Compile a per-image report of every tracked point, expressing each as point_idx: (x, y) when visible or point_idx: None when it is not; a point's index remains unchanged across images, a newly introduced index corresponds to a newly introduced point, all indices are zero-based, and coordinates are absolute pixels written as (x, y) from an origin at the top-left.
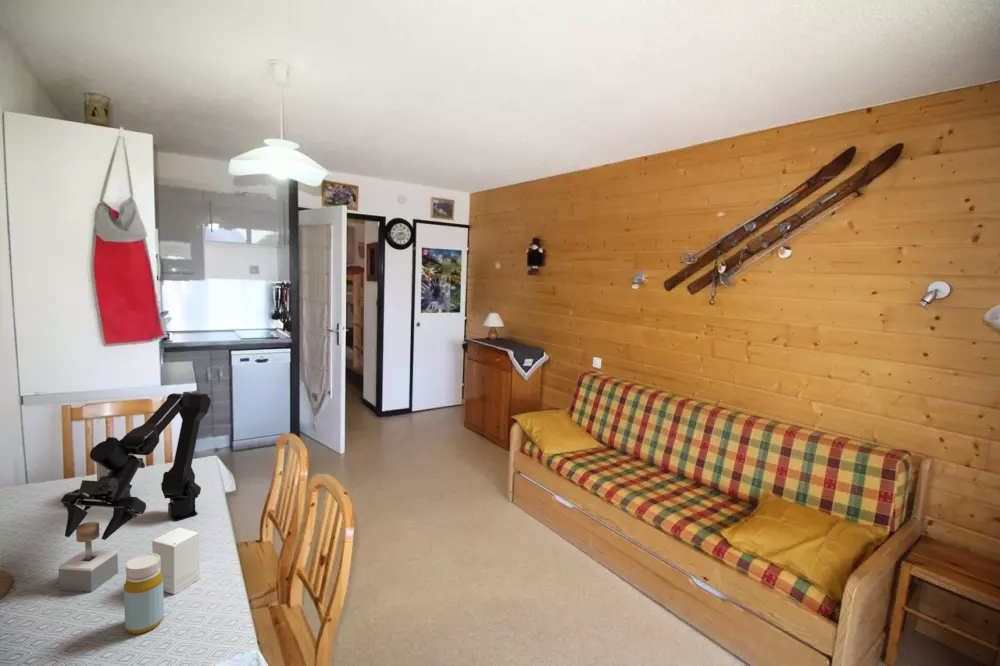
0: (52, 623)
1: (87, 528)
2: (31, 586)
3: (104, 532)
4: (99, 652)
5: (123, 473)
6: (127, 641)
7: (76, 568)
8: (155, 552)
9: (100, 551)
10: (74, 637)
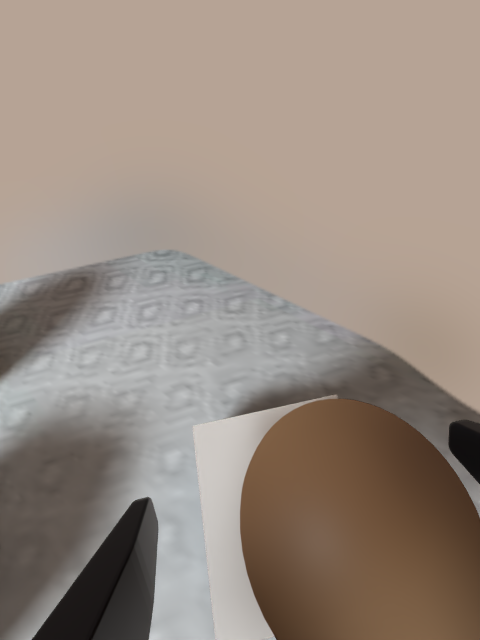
0: (183, 318)
1: (297, 466)
2: (405, 402)
3: (125, 541)
4: (13, 290)
5: None
6: None
7: (258, 411)
8: None
9: None
10: (96, 303)
